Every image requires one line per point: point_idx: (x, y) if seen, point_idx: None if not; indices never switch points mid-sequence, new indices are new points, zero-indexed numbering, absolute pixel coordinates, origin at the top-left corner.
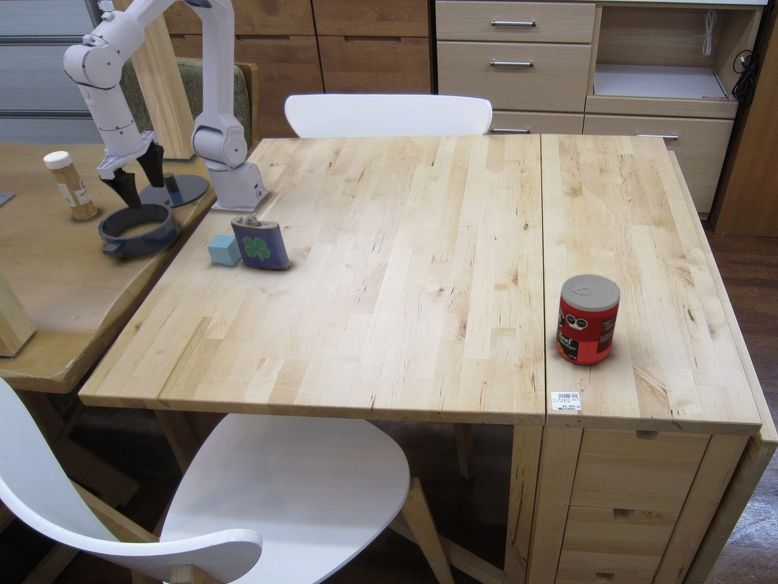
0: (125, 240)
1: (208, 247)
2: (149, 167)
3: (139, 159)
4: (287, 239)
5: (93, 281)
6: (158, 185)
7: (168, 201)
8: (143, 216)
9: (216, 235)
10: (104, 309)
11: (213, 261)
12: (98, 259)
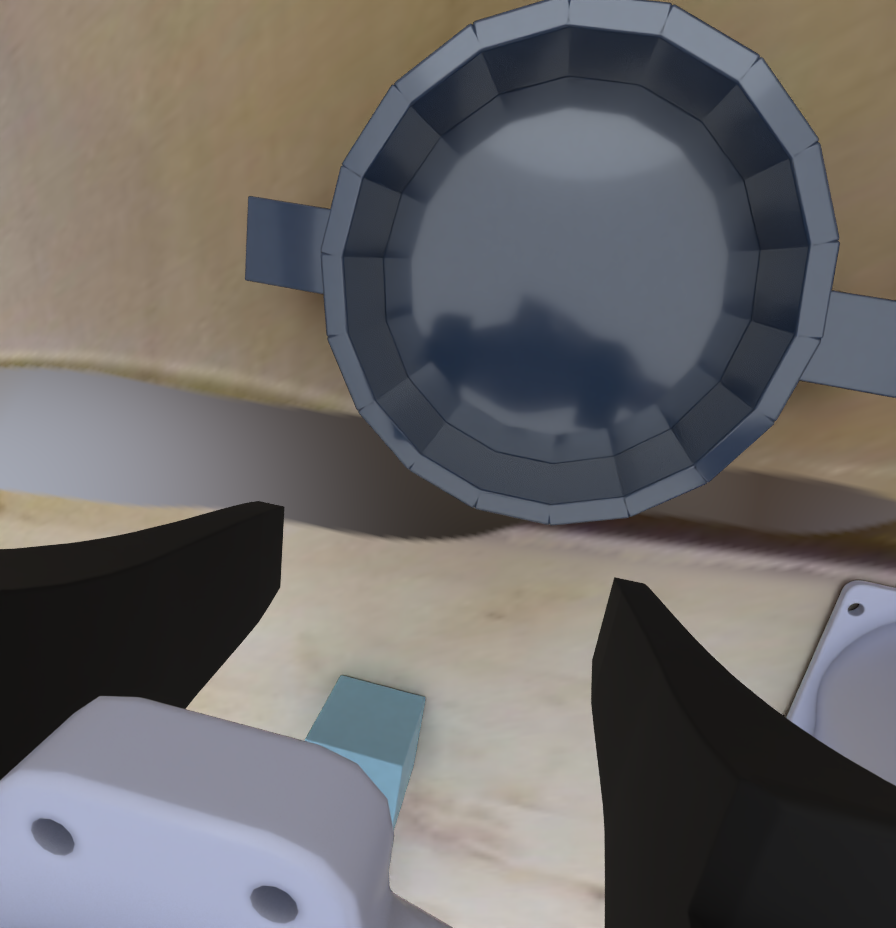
0: (326, 323)
1: (305, 740)
2: (636, 763)
3: (679, 774)
4: (508, 895)
5: (187, 171)
6: (600, 645)
7: (879, 392)
8: (768, 219)
9: (392, 764)
10: (31, 334)
11: (334, 688)
12: (371, 82)
